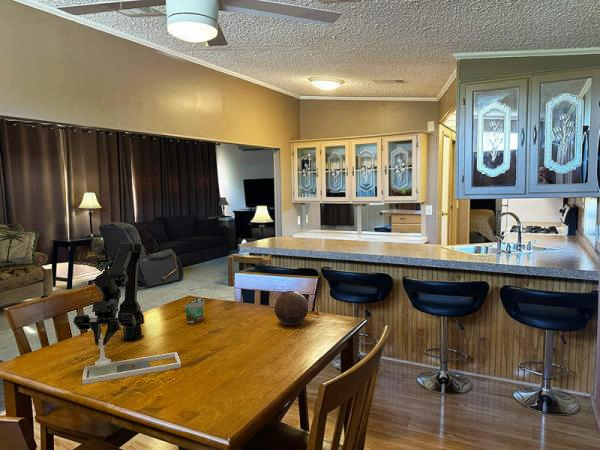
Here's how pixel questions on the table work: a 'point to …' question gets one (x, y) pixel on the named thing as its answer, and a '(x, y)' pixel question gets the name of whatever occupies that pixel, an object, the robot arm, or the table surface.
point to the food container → (194, 311)
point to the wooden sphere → (291, 308)
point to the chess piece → (102, 355)
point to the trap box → (126, 367)
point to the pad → (102, 371)
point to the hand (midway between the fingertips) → (100, 345)
